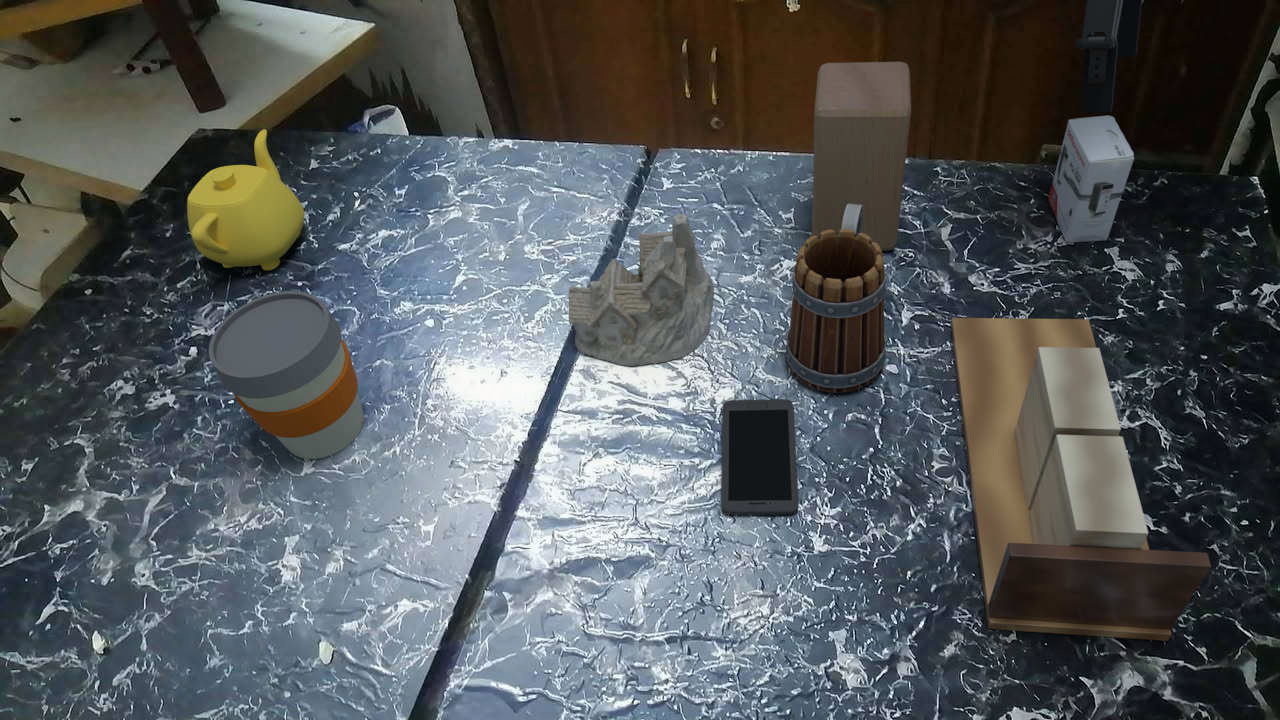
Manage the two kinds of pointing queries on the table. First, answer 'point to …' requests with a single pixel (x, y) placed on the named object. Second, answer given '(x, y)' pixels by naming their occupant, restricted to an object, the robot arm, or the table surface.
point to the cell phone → (759, 457)
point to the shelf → (994, 443)
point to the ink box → (1090, 178)
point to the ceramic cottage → (646, 303)
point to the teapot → (245, 213)
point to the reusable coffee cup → (290, 372)
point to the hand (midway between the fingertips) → (1109, 82)
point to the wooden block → (861, 146)
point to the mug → (838, 309)
